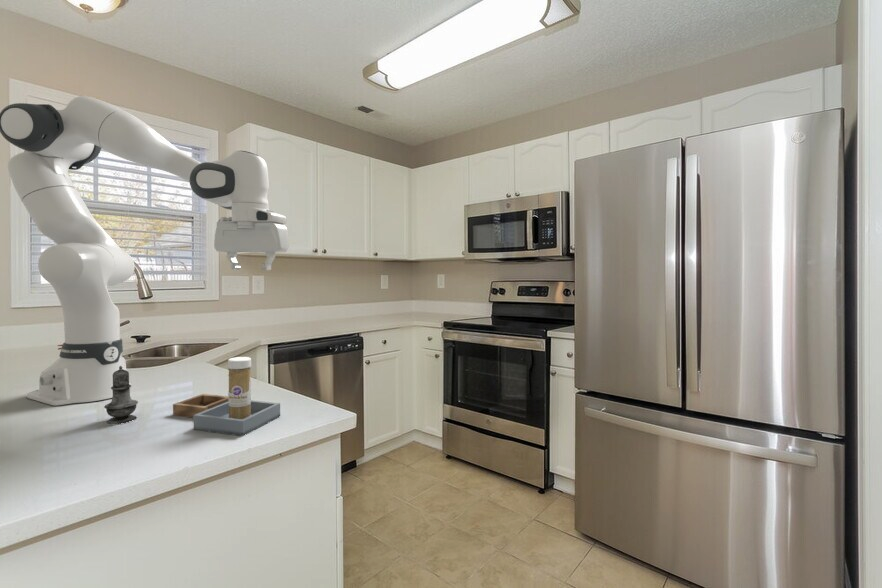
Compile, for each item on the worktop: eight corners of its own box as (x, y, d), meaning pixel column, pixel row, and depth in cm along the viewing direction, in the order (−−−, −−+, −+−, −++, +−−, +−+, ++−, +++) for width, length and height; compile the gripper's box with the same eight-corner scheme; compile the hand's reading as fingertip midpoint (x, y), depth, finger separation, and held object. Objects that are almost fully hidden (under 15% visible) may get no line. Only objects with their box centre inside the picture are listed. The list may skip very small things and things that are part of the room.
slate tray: (193, 429, 87) (193, 415, 87) (235, 411, 99) (235, 398, 99) (243, 435, 84) (242, 421, 84) (280, 416, 96) (280, 403, 96)
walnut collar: (173, 415, 96) (172, 404, 96) (203, 403, 104) (203, 393, 104) (204, 419, 94) (204, 407, 93) (232, 407, 102) (232, 396, 102)
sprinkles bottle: (227, 424, 89) (227, 361, 88) (228, 417, 93) (228, 357, 92) (251, 421, 91) (251, 359, 90) (251, 414, 95) (251, 355, 94)
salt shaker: (120, 426, 89) (119, 369, 88) (97, 423, 90) (95, 367, 89) (145, 416, 94) (144, 363, 94) (123, 414, 96) (122, 362, 95)
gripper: (207, 215, 109) (208, 269, 110) (276, 213, 104) (277, 270, 105) (225, 218, 115) (226, 269, 116) (292, 217, 110) (292, 270, 111)
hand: (251, 269), depth 110 cm, fingers open, 8 cm apart
